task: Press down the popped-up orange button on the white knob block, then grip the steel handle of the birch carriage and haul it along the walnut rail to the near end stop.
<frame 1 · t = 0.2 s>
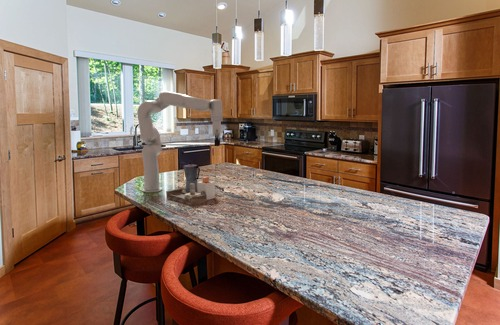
hand: (217, 145, 215), 31 cm above the kitchen island, tool pointing down, fingers open, 9 cm apart
white knob block: (206, 197, 203), on the kitchen island
moka pot: (192, 191, 219), on the kitchen island
gauge button: (205, 180, 201), point 11 cm above the kitchen island, slide at 0.0 cm
carriage: (192, 191, 193), point 6 cm above the kitchen island, slide at 0.0 cm
rail bed: (186, 199, 198), on the kitchen island
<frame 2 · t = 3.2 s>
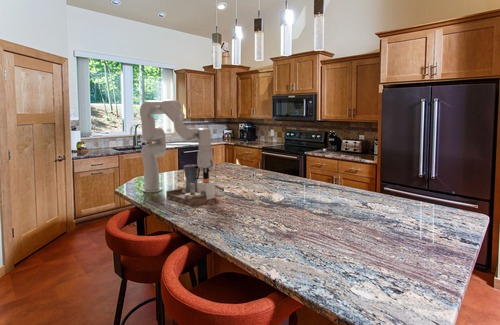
hand: (206, 178, 201), 12 cm above the kitchen island, tool pointing down, fingers closed
gauge button: (205, 181, 201), point 10 cm above the kitchen island, slide at 0.8 cm, touching gripper
everything else where it was.
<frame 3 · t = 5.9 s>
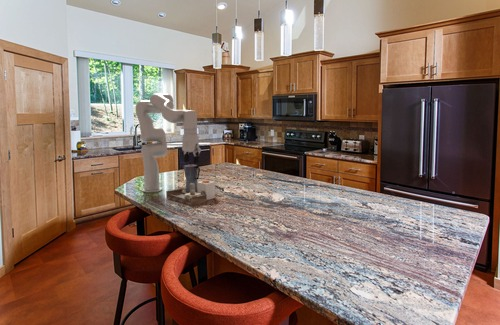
hand: (191, 162, 190), 24 cm above the kitchen island, tool pointing down, fingers open, 7 cm apart
gauge button: (205, 183, 201), point 9 cm above the kitchen island, slide at 2.2 cm
everything else where it was.
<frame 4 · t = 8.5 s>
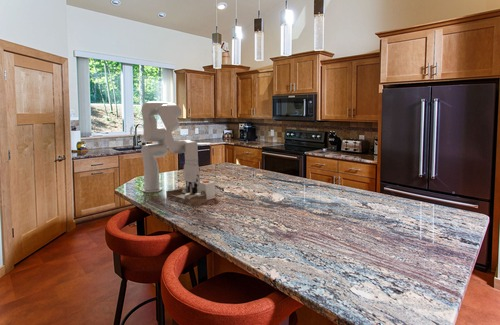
hand: (192, 192, 193), 6 cm above the kitchen island, tool pointing down, fingers closed on carriage, 3 cm apart
carriage: (192, 191, 193), point 6 cm above the kitchen island, slide at 0.0 cm, touching gripper
everything else where it was.
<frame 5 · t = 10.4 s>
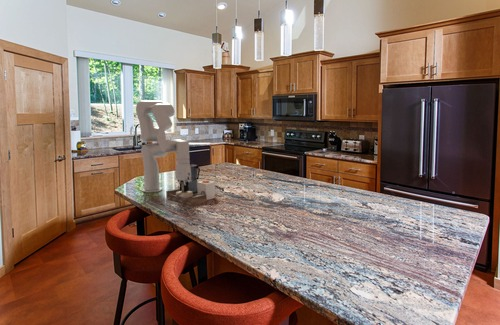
hand: (184, 190, 198), 6 cm above the kitchen island, tool pointing down, fingers closed on carriage, 3 cm apart
carriage: (184, 189, 198), point 6 cm above the kitchen island, slide at 7.8 cm, touching gripper
everything else where it was.
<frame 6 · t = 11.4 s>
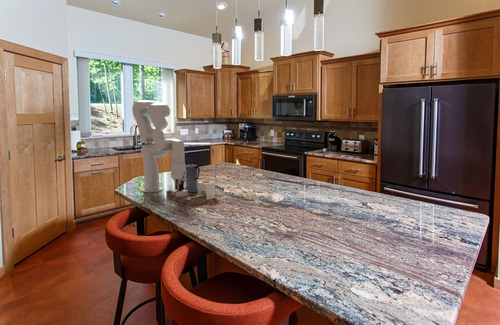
hand: (179, 189, 201), 6 cm above the kitchen island, tool pointing down, fingers closed on carriage, 3 cm apart
carriage: (179, 188, 201), point 6 cm above the kitchen island, slide at 12.4 cm, touching gripper
everything else where it was.
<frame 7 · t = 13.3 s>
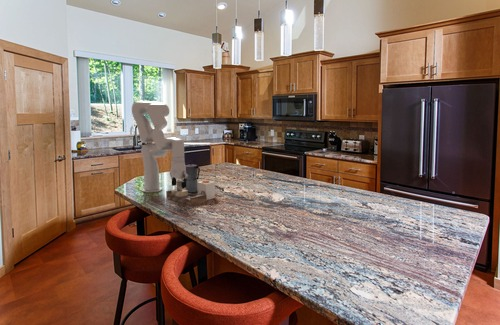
hand: (179, 186, 201), 7 cm above the kitchen island, tool pointing down, fingers open, 9 cm apart
carriage: (179, 188, 201), point 6 cm above the kitchen island, slide at 12.5 cm
everything else where it was.
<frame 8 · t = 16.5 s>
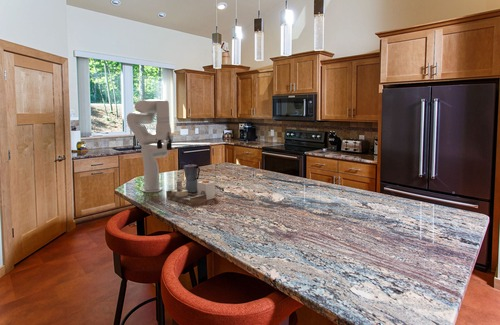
hand: (164, 149, 199), 30 cm above the kitchen island, tool pointing down, fingers open, 9 cm apart
nothing on the kitchen island moved.
at the end: carriage slide at 12.5 cm; gauge button slide at 2.2 cm; the gripper is holding nothing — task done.
